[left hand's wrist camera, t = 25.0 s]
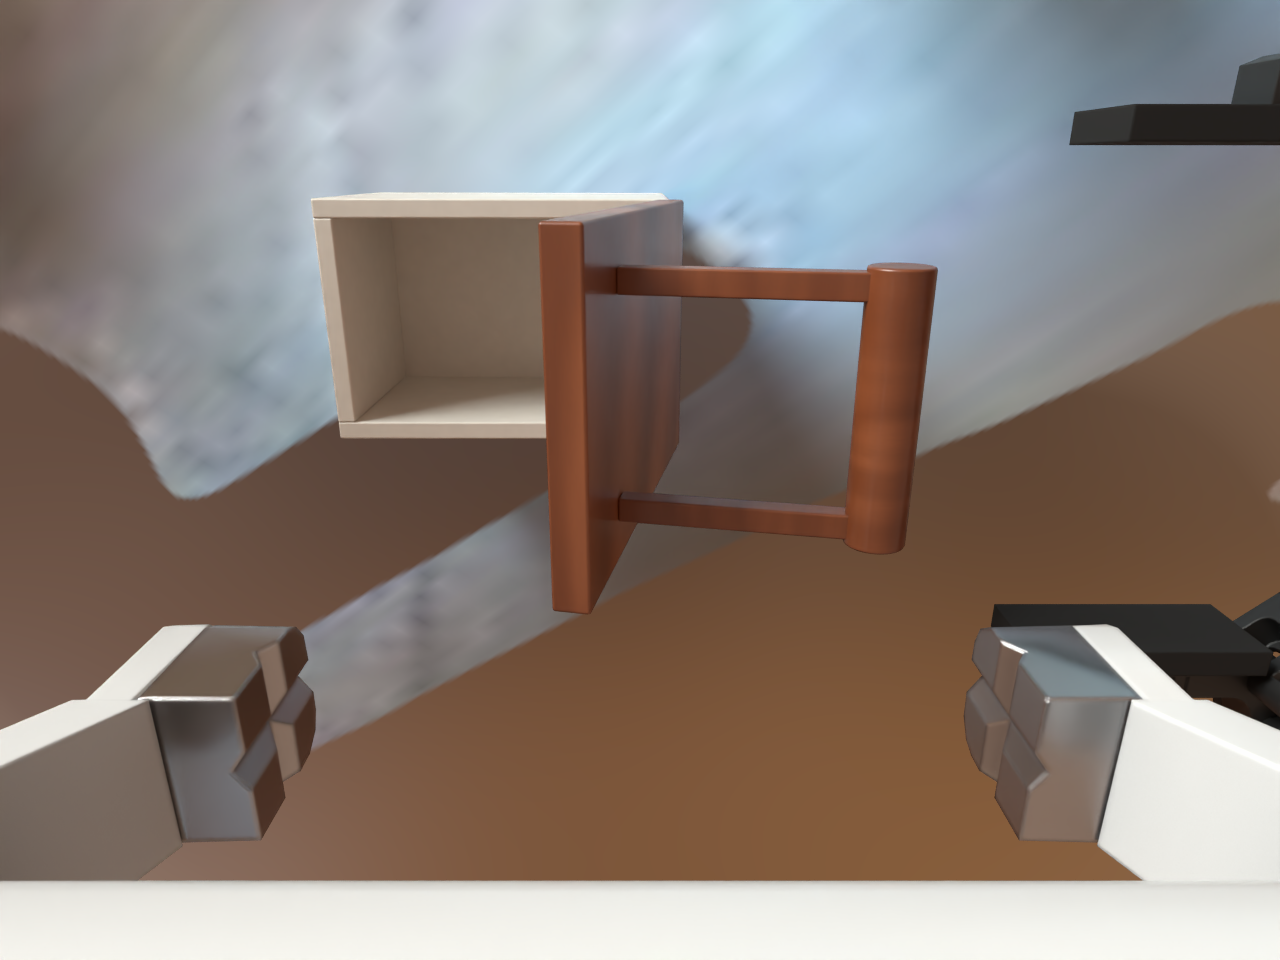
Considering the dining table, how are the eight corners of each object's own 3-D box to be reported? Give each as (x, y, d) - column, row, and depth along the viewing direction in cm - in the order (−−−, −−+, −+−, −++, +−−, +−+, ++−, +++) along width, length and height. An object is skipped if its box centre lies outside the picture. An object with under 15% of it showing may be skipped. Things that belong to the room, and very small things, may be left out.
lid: (551, 612, 22) (913, 648, 20) (536, 220, 18) (967, 226, 17) (654, 442, 35) (875, 456, 33) (656, 199, 32) (902, 201, 30)
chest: (397, 386, 44) (339, 438, 35) (378, 192, 41) (310, 198, 32) (660, 387, 44) (666, 439, 35) (662, 192, 41) (669, 199, 32)
